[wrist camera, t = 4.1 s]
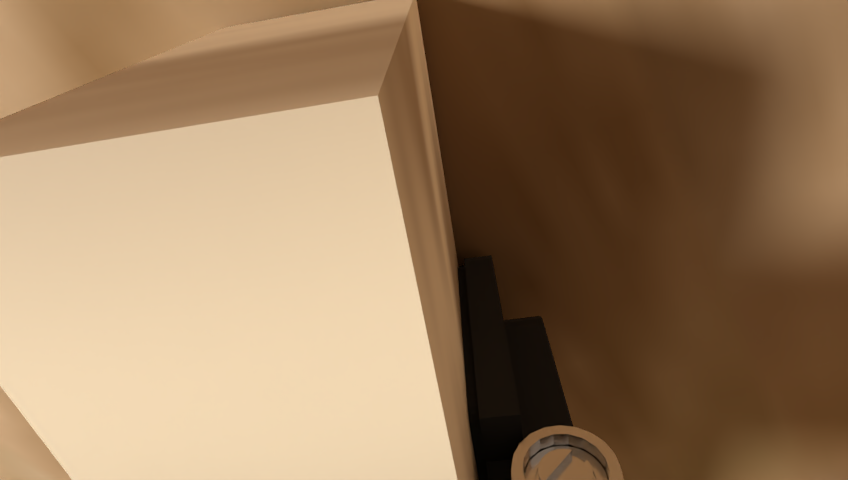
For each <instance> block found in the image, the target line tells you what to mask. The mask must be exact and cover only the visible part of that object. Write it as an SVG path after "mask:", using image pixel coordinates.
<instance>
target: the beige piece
mask: <svg viewBox="0 0 848 480" xmlns="http://www.w3.org/2000/svg"><path fill="white" fill-rule="evenodd" d="M0 386H1V387H2V388H3V390H4V391H5V392H6V394H7V395H8V396H9V398H10V399H11V400H12V402H13V403H14V404H15V405H16V407H17V408H18V409H19V411H20V412H21V413H22V415H23V416H24V417H25V419H26V420H27V421H28V422H29V424H30V425H31V426H32V428H33V429H34V430H35V432H36V433H37V434H38V436H39V437H40V438H41V440H42V441H43V442H44V443H45V445H46V446H47V447H48V449H49V450H50V451H51V453H52V454H53V455H54V457H55V458H56V459H57V461H58V462H59V463H60V464H61V466H62V467H63V468H64V470H65V471H66V472H67V474H68V475H69V476H70V478H71V479H72V480H479V477H478V472H477V466H476V460H475V455H474V449H473V443H472V438H471V432H470V425H469V417H468V408H467V395H466V381H465V367H464V353H463V339H462V324H461V310H460V296H459V282H458V260H457V254H456V248H455V241H454V235H453V229H452V222H451V216H450V210H449V203H448V197H447V190H446V184H445V178H444V171H443V165H442V159H441V152H440V146H439V140H438V133H437V127H436V121H435V114H434V108H433V101H432V95H431V89H430V82H429V76H428V70H427V63H426V57H425V51H424V44H423V38H422V32H421V25H420V19H419V13H418V6H417V0H374V1H368V2H363V3H357V4H352V5H346V6H341V7H335V8H330V9H324V10H319V11H313V12H308V13H302V14H297V15H291V16H286V17H280V18H275V19H269V20H264V21H258V22H252V23H247V24H241V25H236V26H230V27H225V28H222V29H219V30H217V31H215V32H212V33H210V34H207V35H205V36H202V37H200V38H197V39H195V40H193V41H190V42H188V43H185V44H183V45H180V46H178V47H175V48H173V49H171V50H168V51H166V52H163V53H161V54H158V55H156V56H153V57H151V58H149V59H146V60H144V61H141V62H139V63H136V64H134V65H131V66H129V67H127V68H124V69H122V70H119V71H117V72H114V73H112V74H109V75H107V76H105V77H102V78H100V79H97V80H95V81H92V82H90V83H87V84H85V85H82V86H80V87H78V88H75V89H73V90H70V91H68V92H65V93H63V94H60V95H58V96H56V97H53V98H51V99H48V100H46V101H43V102H41V103H38V104H36V105H34V106H31V107H29V108H26V109H24V110H21V111H19V112H16V113H14V114H12V115H9V116H7V117H4V118H2V119H0Z"/></svg>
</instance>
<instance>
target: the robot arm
mask: <svg viewBox="0 0 848 480" xmlns="http://www.w3.org/2000/svg"><path fill="white" fill-rule="evenodd" d="M464 263H465V266H461V267H458V282H459V296H460V310H461V324H462V339H463V353H464V367H465V381H466V395H467V408H468V417H469V425H470V432H471V438H472V443H473V449H474V455H475V460H476V466H477V472H478V477H479V480H624V478H623V474H622V470H621V466H620V464H619V462H618V459H617V457H616V455H615V453H614V452H613V451H612V450H611V448H610V447H609V446H608V445H607V444H606V443H605V441H603V440H602V439H600V438H599V437H597V436H596V435H594V434H593V433H591V432H588V431H586V430H583V429H580V428H577V427H573V425H572V421H571V418H570V414H569V411H568V407H567V404H566V400H565V397H564V393H563V390H562V386H561V383H560V379H559V376H558V372H557V369H556V365H555V362H554V358H553V355H552V351H551V348H550V344H549V341H548V337H547V334H546V330H545V327H544V324H543V321H542V318H541V316H537V317H528V318H520V319H511V320H503V316H502V311H501V305H500V300H499V294H498V289H497V283H496V278H495V272H494V267H493V261H492V256H491V255H489V256H482V257H474V258H466V259H464Z"/></svg>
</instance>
